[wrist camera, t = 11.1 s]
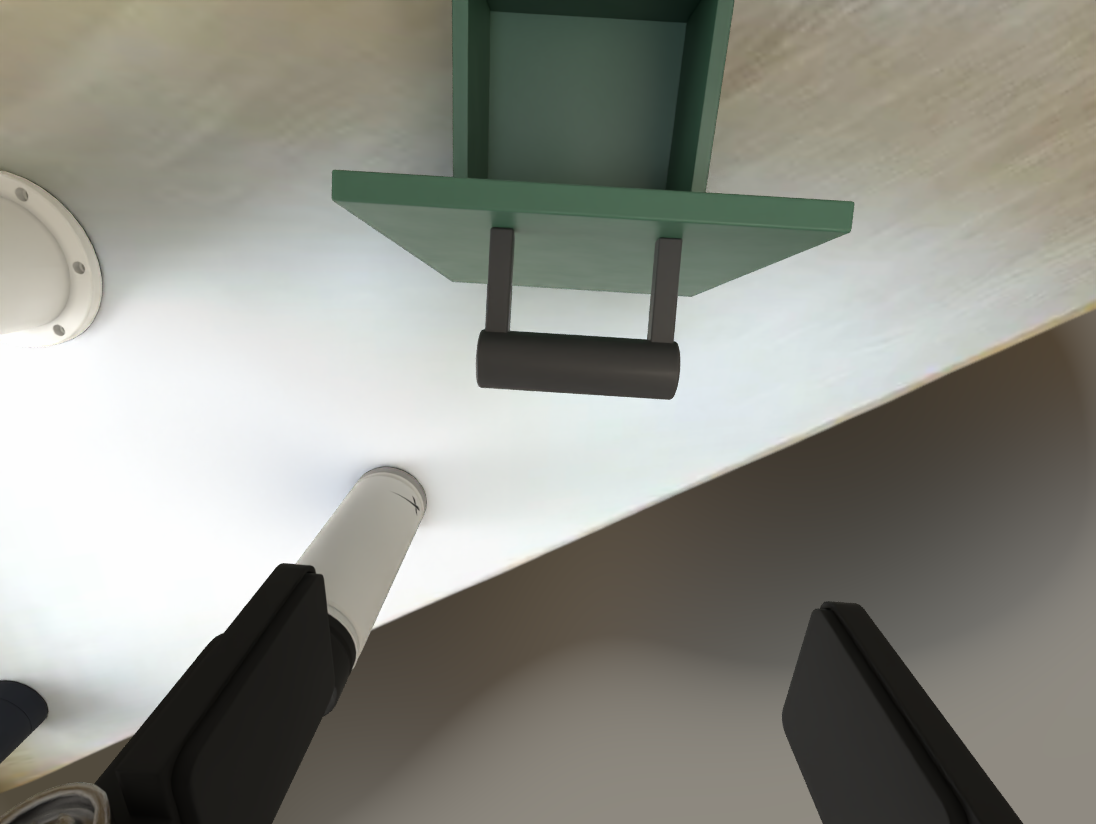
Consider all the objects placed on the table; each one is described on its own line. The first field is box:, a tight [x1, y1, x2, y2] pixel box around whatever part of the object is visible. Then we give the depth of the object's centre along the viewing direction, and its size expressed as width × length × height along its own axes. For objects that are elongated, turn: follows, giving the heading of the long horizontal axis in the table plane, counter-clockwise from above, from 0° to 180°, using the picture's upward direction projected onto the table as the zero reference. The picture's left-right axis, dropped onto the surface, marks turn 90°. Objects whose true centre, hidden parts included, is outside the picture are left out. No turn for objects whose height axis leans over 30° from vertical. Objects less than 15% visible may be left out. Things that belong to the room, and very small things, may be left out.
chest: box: [452, 0, 734, 192], centre depth 32 cm, size 16×14×9 cm
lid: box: [332, 170, 854, 400], centre depth 22 cm, size 16×14×6 cm
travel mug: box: [296, 467, 427, 716], centre depth 37 cm, size 6×7×20 cm
